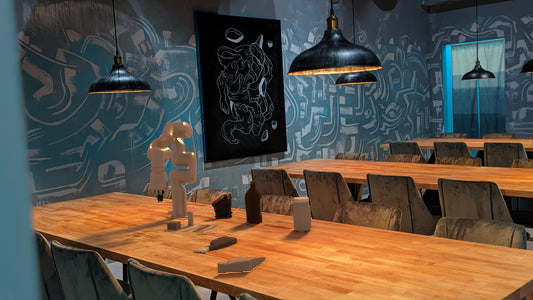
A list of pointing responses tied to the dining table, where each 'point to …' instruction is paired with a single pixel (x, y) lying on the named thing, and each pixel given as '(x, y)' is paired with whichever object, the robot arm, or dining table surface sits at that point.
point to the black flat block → (222, 207)
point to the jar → (301, 214)
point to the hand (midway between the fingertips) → (160, 201)
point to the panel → (194, 228)
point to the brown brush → (218, 244)
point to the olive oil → (253, 204)
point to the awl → (190, 218)
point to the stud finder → (174, 225)
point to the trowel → (239, 264)
